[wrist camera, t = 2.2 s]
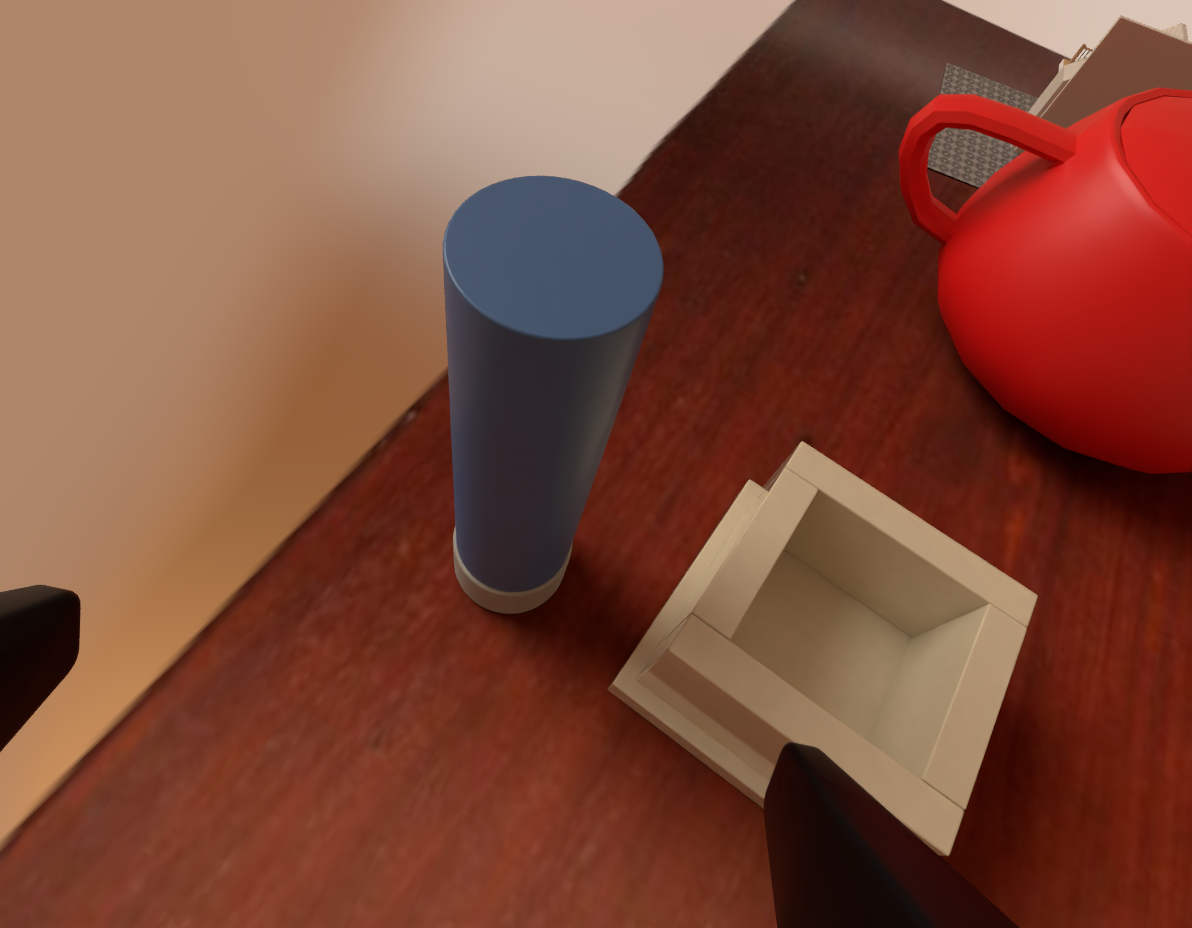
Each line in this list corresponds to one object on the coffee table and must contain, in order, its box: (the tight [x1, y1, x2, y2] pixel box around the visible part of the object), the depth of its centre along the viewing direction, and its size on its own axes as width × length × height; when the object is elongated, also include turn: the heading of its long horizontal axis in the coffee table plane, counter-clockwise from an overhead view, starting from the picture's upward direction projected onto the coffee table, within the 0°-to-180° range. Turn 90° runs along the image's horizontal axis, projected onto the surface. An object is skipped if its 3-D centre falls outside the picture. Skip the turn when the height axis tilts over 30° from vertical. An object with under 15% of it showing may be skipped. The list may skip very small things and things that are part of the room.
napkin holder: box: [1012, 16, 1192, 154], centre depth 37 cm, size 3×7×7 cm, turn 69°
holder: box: [608, 441, 1038, 856], centre depth 21 cm, size 9×9×5 cm
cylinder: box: [443, 176, 664, 614], centre depth 17 cm, size 4×4×14 cm
